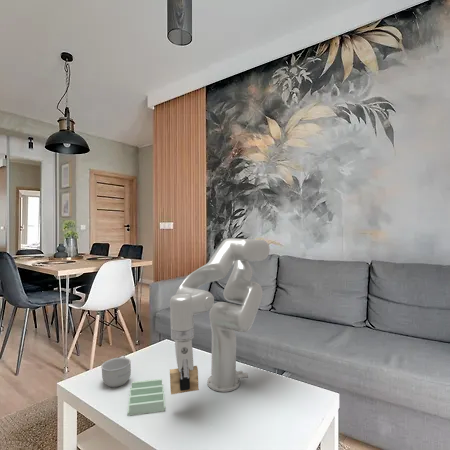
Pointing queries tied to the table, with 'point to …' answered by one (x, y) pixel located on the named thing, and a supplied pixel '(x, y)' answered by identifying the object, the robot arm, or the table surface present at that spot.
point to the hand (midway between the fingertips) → (184, 386)
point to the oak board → (176, 380)
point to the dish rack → (146, 397)
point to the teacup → (116, 371)
